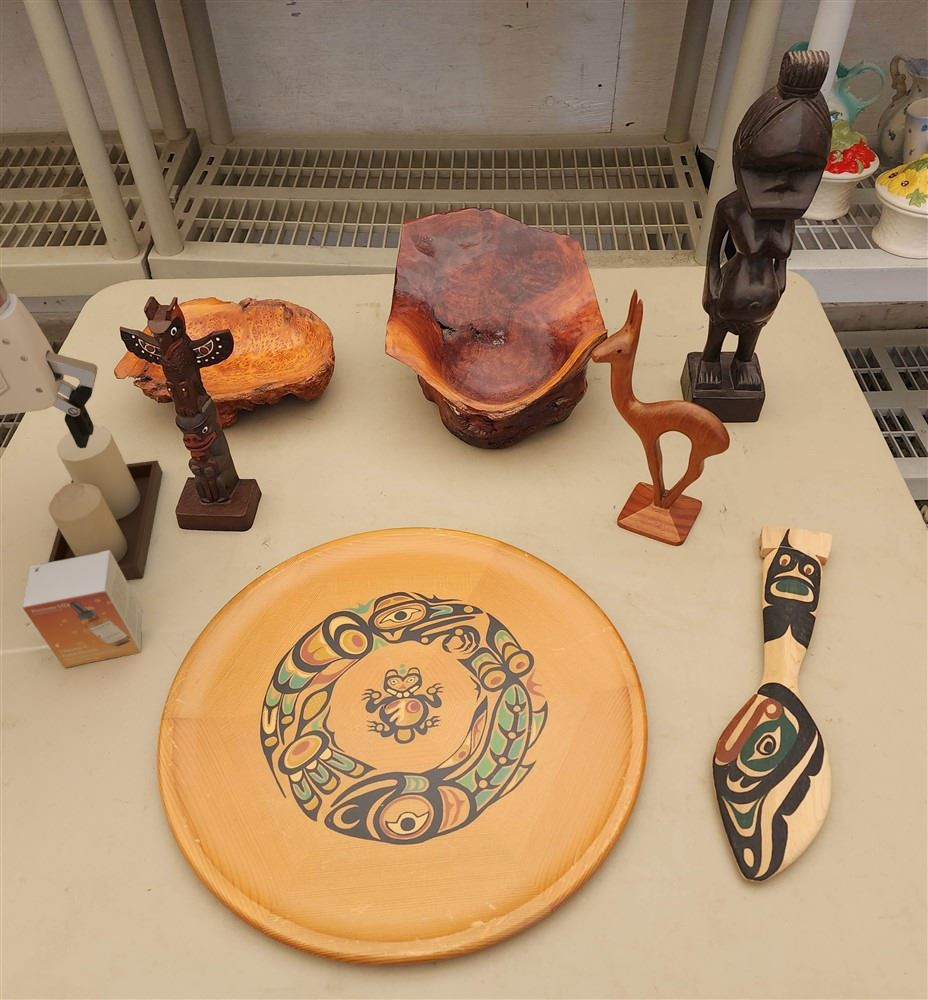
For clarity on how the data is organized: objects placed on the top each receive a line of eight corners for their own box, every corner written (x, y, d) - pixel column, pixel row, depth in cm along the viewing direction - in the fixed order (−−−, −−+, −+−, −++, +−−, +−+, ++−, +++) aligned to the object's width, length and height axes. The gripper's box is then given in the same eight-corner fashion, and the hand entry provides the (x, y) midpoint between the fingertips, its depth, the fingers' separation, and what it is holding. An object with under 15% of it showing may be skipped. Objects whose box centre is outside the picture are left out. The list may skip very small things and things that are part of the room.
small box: (63, 669, 89) (19, 608, 81) (69, 626, 93) (27, 564, 85) (142, 653, 90) (105, 591, 82) (145, 611, 93) (110, 548, 86)
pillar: (86, 524, 102) (51, 463, 95) (95, 488, 106) (62, 428, 99) (136, 518, 102) (106, 456, 95) (144, 482, 107) (115, 421, 99)
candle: (125, 567, 97) (92, 506, 90) (76, 575, 97) (38, 514, 90) (130, 531, 101) (99, 470, 94) (82, 539, 101) (47, 478, 93)
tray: (52, 593, 96) (43, 579, 94) (82, 485, 108) (74, 470, 106) (144, 581, 96) (136, 566, 94) (164, 475, 108) (157, 460, 106)
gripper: (-164, 331, 71) (-64, 480, 83) (49, 309, 72) (117, 460, 84) (-130, 283, 76) (-41, 429, 89) (68, 263, 77) (129, 411, 89)
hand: (36, 444), depth 86 cm, fingers open, 9 cm apart
